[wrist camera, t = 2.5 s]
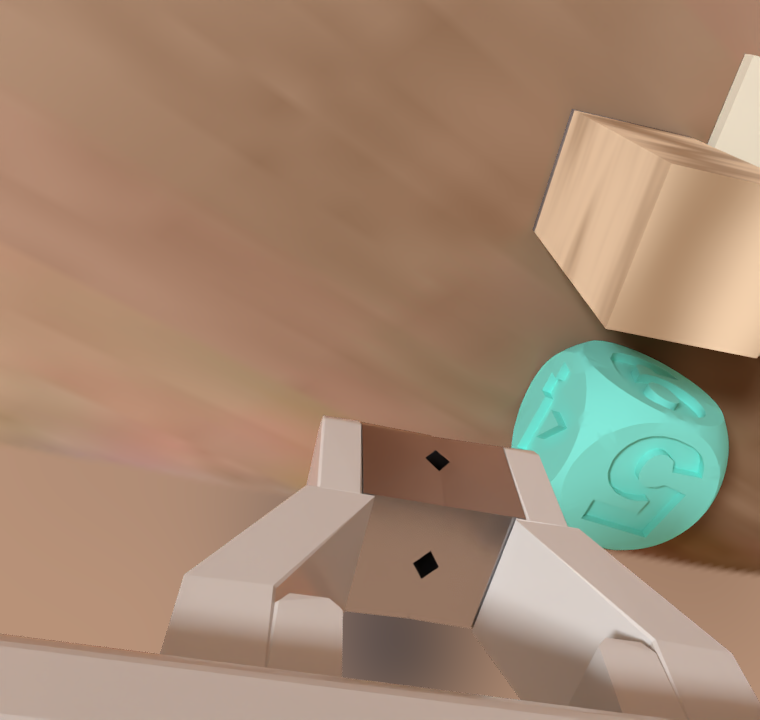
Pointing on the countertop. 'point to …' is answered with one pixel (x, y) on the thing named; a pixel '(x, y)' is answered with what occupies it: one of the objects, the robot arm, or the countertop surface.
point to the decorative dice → (624, 444)
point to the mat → (741, 115)
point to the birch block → (657, 233)
